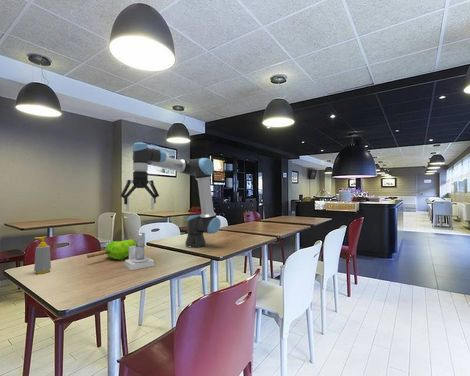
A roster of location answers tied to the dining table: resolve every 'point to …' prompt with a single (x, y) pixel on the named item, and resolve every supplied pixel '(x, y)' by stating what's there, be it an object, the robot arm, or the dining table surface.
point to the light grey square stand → (137, 261)
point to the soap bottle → (42, 257)
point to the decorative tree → (116, 249)
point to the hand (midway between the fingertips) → (140, 210)
